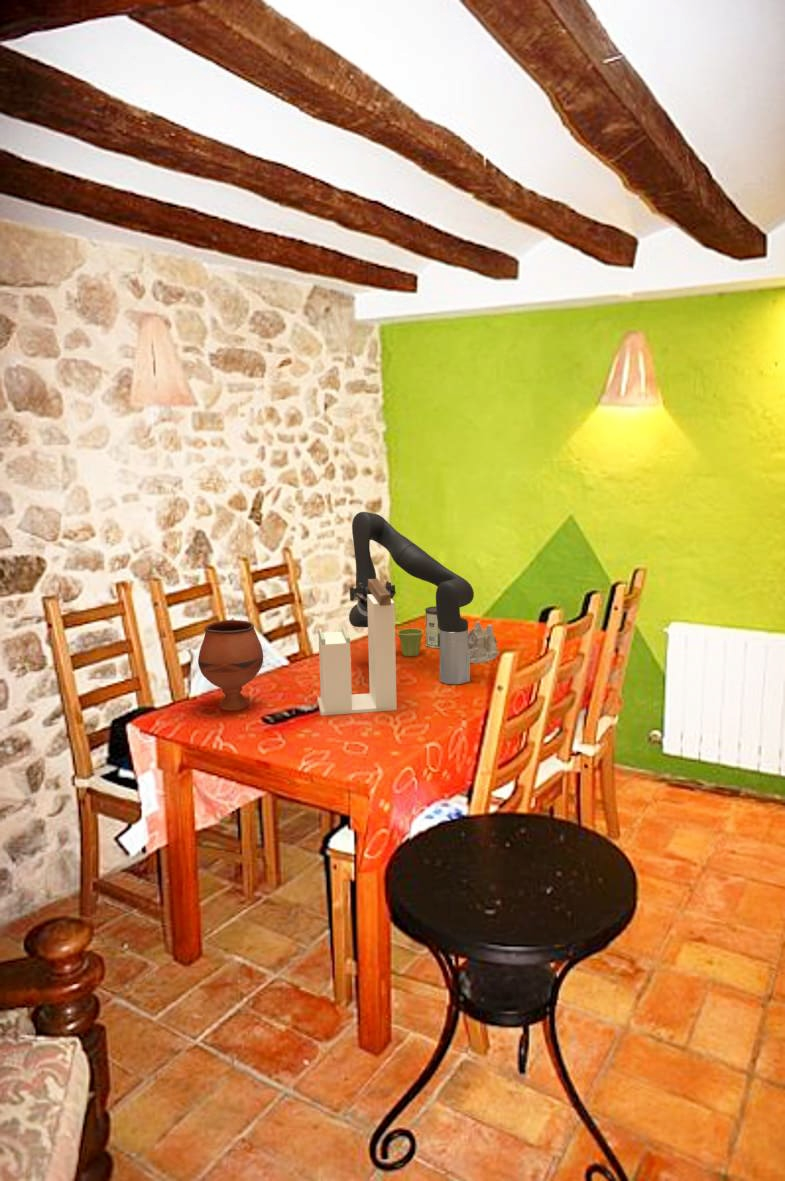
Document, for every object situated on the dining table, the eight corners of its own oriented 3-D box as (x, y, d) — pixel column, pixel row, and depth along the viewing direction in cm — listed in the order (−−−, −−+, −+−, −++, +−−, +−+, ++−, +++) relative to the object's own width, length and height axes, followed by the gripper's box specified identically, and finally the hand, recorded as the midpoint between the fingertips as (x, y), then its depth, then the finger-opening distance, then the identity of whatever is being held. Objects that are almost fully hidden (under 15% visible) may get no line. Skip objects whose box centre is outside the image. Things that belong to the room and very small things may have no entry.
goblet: (214, 721, 228) (208, 636, 223) (192, 703, 244) (187, 623, 239) (276, 708, 238) (272, 626, 233) (251, 691, 254) (247, 614, 249)
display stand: (389, 695, 248) (386, 593, 242) (396, 710, 234) (394, 602, 228) (317, 700, 245) (313, 597, 238) (321, 715, 231) (316, 606, 225)
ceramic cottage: (506, 657, 286) (504, 616, 283) (471, 667, 277) (468, 625, 274) (477, 651, 299) (475, 612, 296) (443, 661, 289) (440, 620, 287)
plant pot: (413, 659, 286) (413, 636, 285) (392, 655, 292) (392, 632, 290) (428, 653, 294) (428, 630, 292) (407, 649, 299) (407, 627, 298)
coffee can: (454, 642, 310) (454, 606, 307) (450, 649, 300) (450, 612, 297) (427, 641, 312) (427, 605, 309) (423, 648, 302) (423, 611, 299)
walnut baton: (377, 588, 250) (377, 578, 250) (390, 605, 225) (390, 594, 225) (368, 588, 250) (367, 579, 249) (380, 605, 225) (380, 595, 224)
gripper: (346, 592, 261) (350, 574, 246) (389, 589, 263) (396, 572, 248) (348, 614, 259) (352, 597, 244) (392, 611, 261) (398, 595, 246)
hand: (374, 584), depth 246 cm, fingers open, 8 cm apart
